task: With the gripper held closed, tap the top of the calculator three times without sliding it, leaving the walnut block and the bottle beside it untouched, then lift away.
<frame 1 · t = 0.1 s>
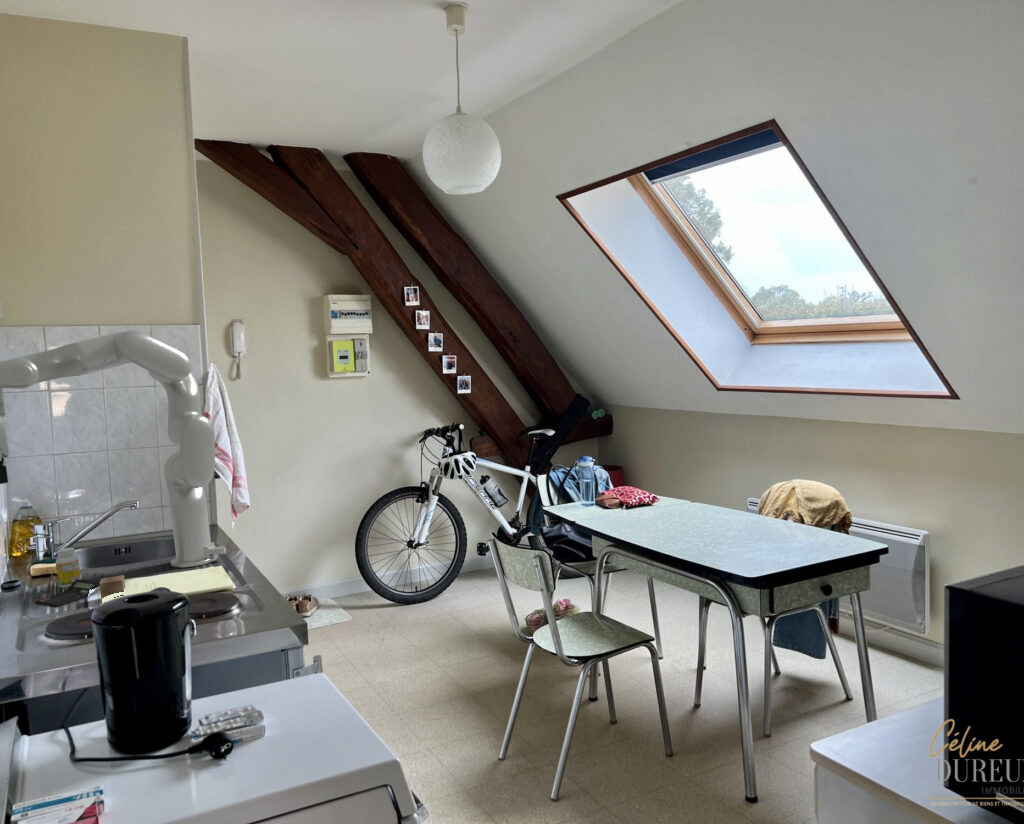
calculator: (69, 599, 199), on the counter
walnut block: (114, 598, 196), on the counter
supplement bottle: (70, 585, 211), on the counter
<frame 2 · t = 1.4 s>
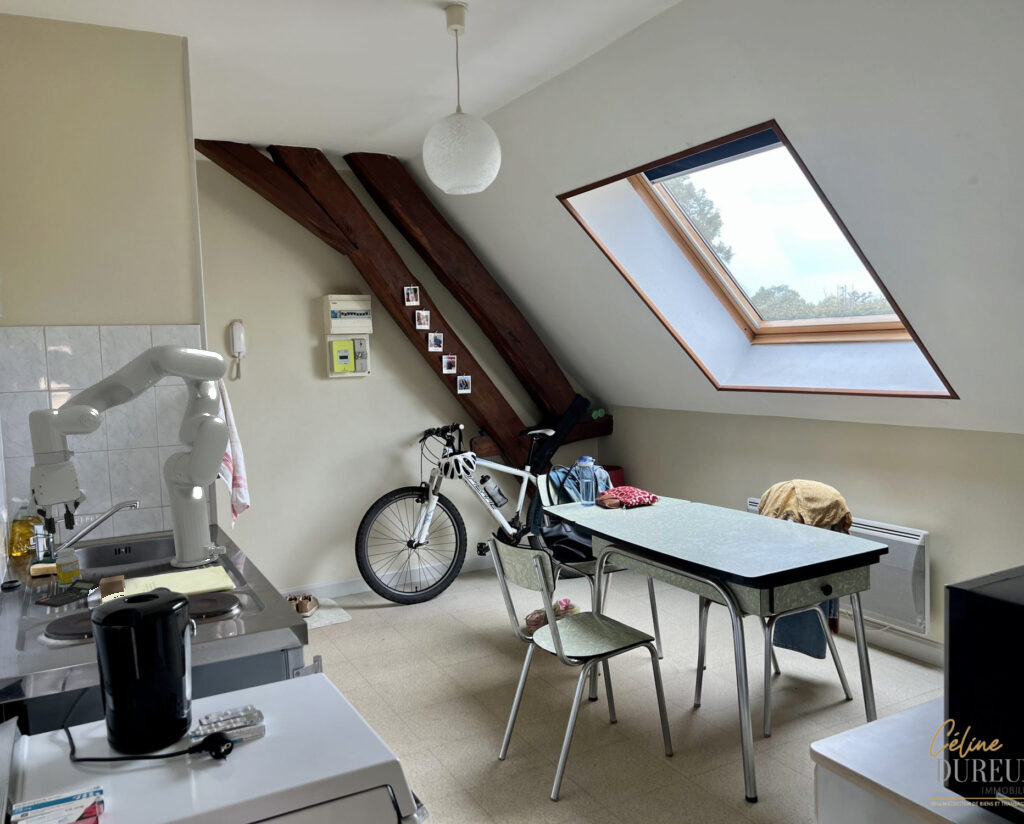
hand: (60, 530, 198), 17 cm above the counter, tool pointing down, fingers open, 3 cm apart
nothing on the counter moved.
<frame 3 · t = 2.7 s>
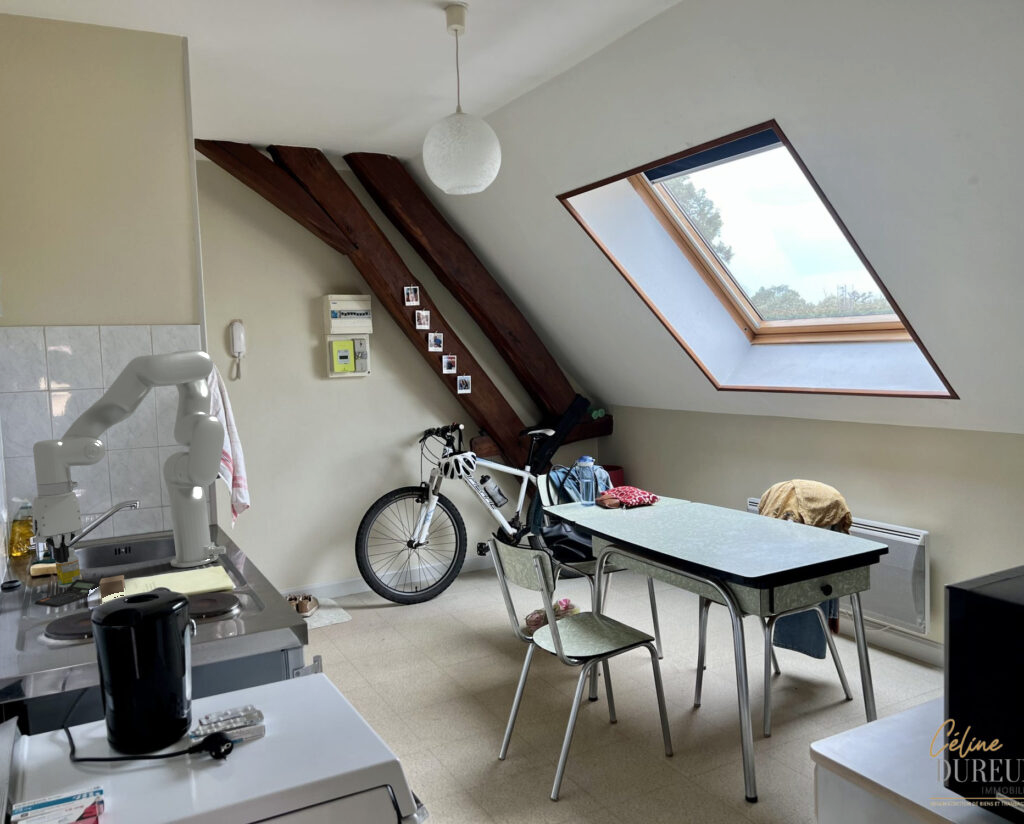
hand: (62, 561, 198), 9 cm above the counter, tool pointing down, fingers closed
nothing on the counter moved.
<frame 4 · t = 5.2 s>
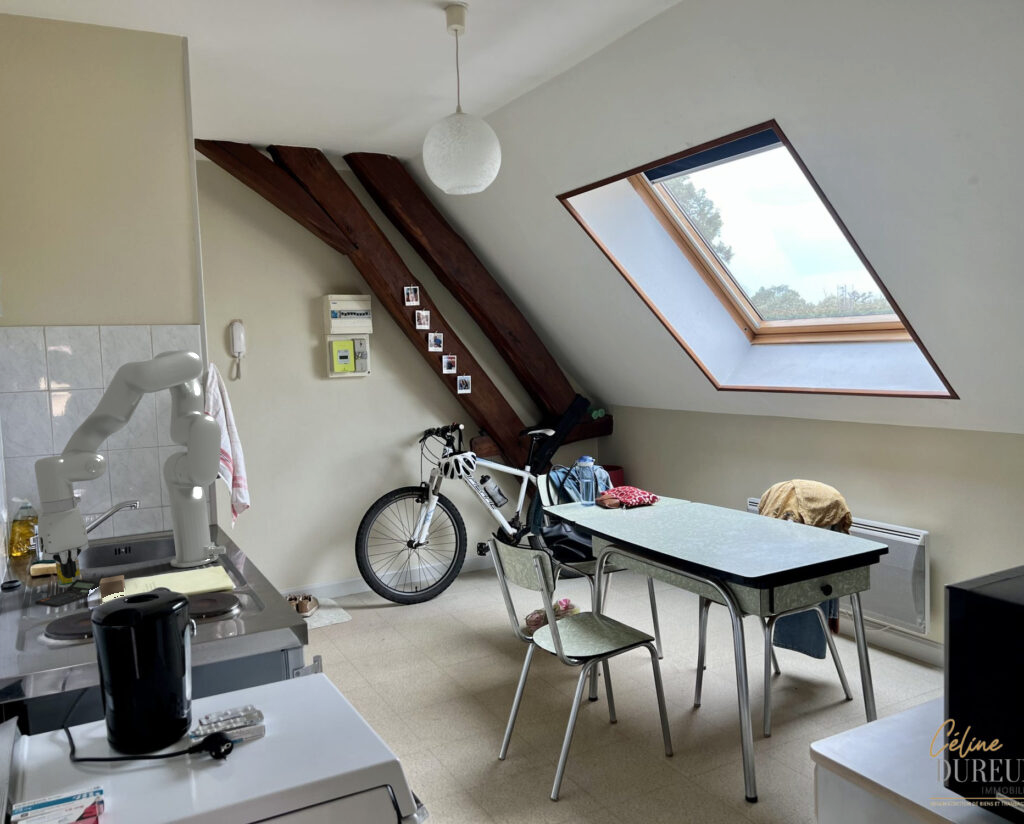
hand: (69, 576, 200), 5 cm above the counter, tool pointing down, fingers closed
nothing on the counter moved.
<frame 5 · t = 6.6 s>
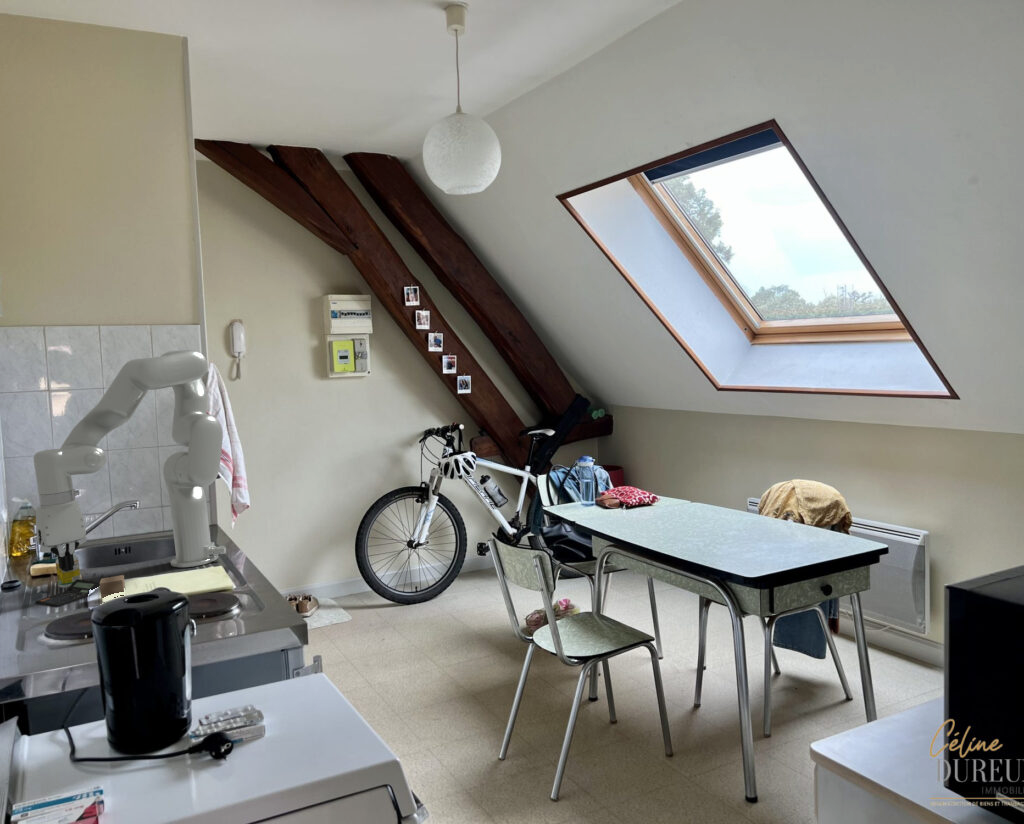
hand: (67, 570, 199), 7 cm above the counter, tool pointing down, fingers closed
nothing on the counter moved.
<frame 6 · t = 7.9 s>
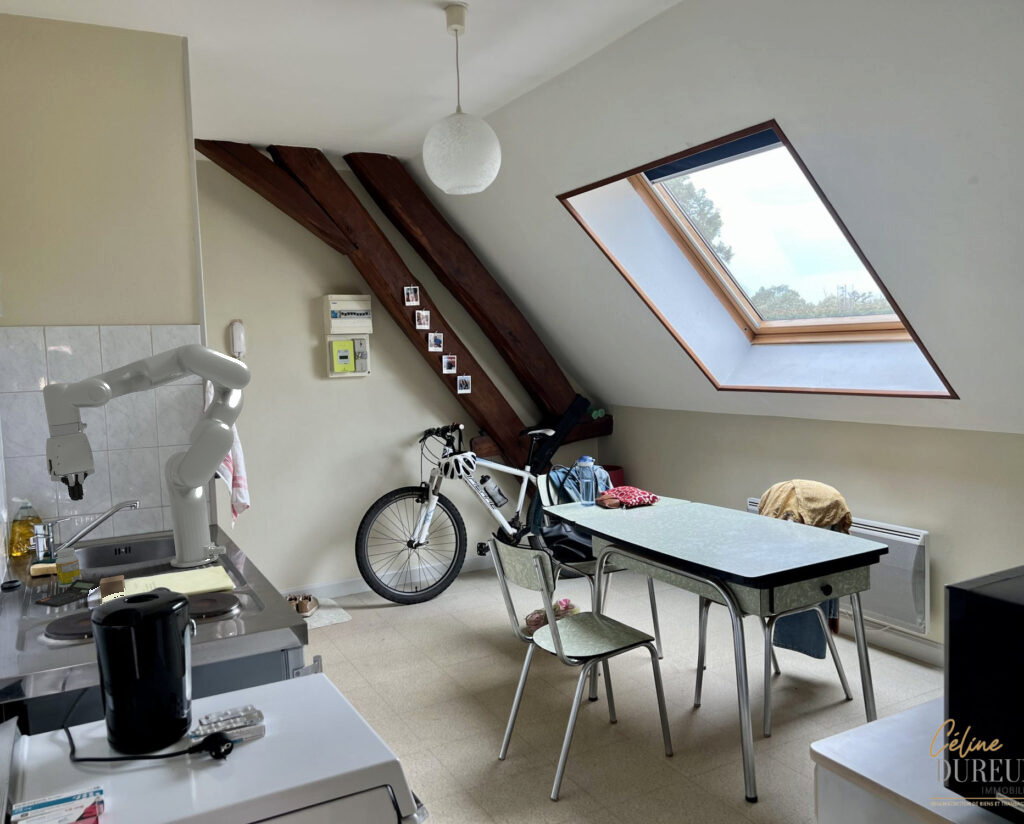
hand: (77, 499, 207), 23 cm above the counter, tool pointing down, fingers closed
nothing on the counter moved.
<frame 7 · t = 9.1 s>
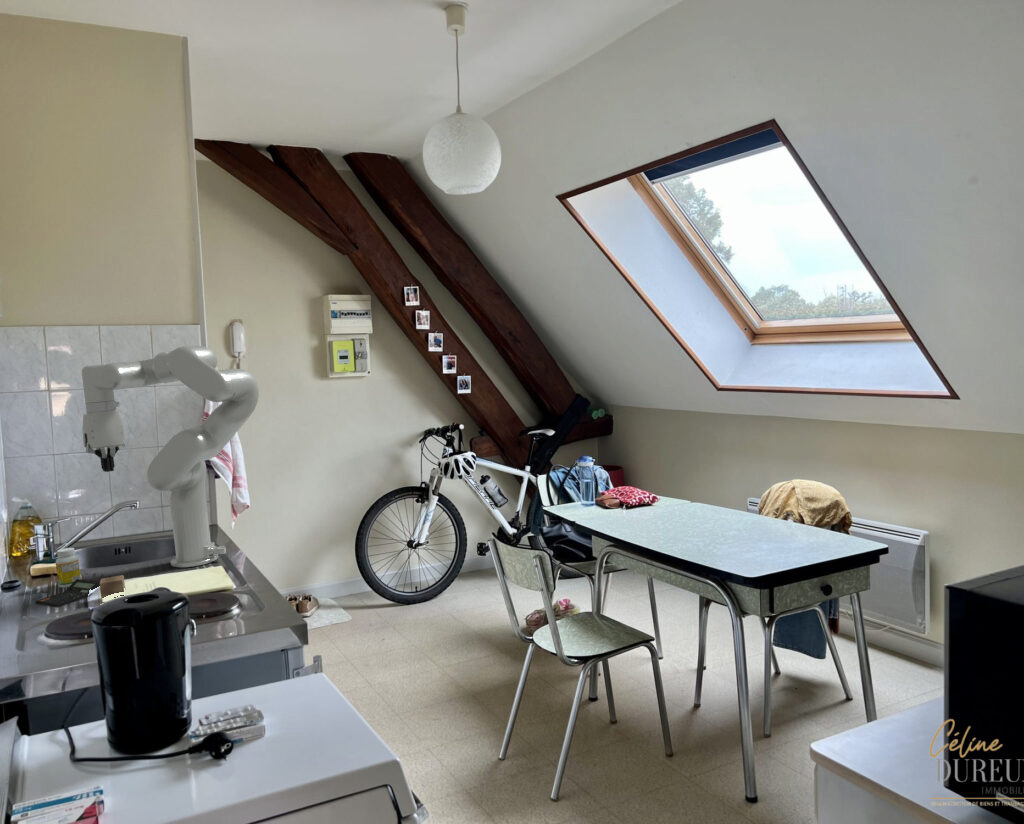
hand: (108, 471, 229), 27 cm above the counter, tool pointing down, fingers closed
nothing on the counter moved.
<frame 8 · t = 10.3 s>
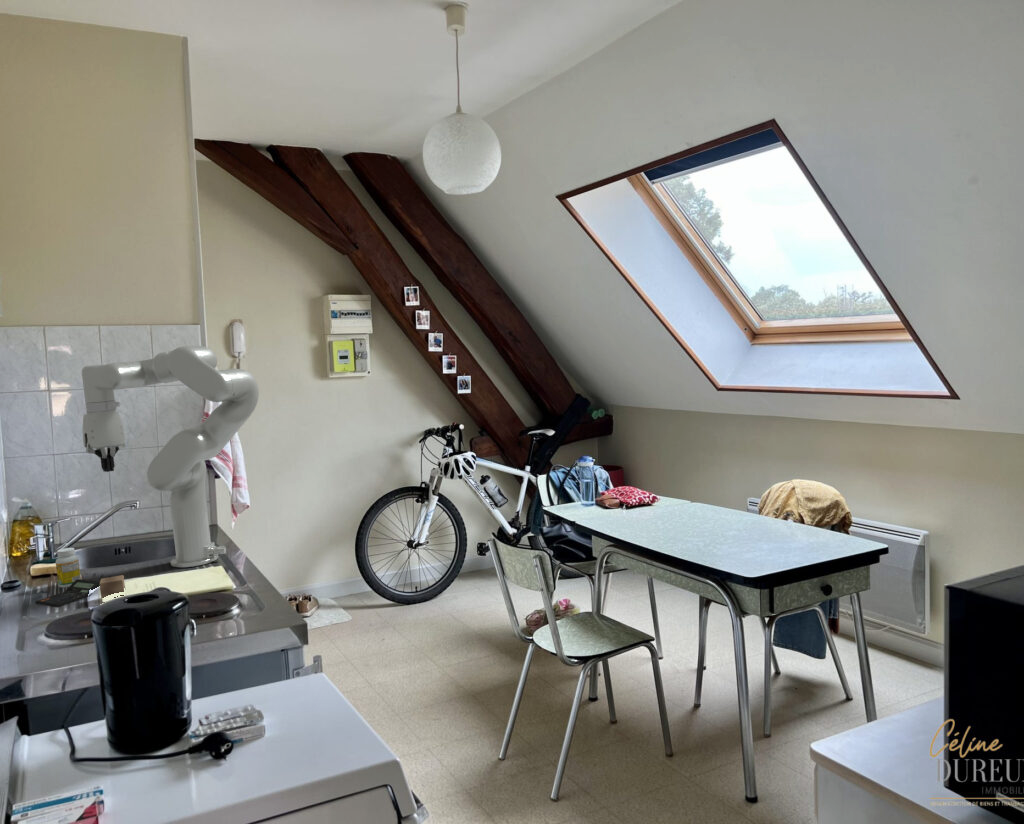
hand: (108, 471, 229), 27 cm above the counter, tool pointing down, fingers closed
nothing on the counter moved.
at the end: calculator moved 0.6 cm from its start; calculator tilted 0°; walnut block moved 0.1 cm from its start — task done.
